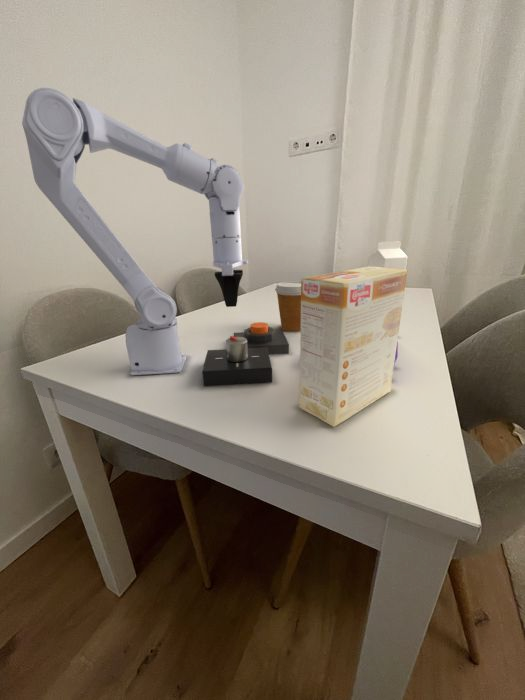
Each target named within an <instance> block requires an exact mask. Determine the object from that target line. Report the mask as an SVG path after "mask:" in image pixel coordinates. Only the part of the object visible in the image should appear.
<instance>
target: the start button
mask: <svg viewBox="0 0 525 700" xmlns="http://www.w3.org/2000/svg"><path fill="white" fill-rule="evenodd" d="M268 327H269V324H268V322H267V323H266V322H261V321H260V322H259V321H258V322H252V323H251V324H250V325H249V328H250V331H251V333H253V334H263V333H267V332H268Z"/></svg>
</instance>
